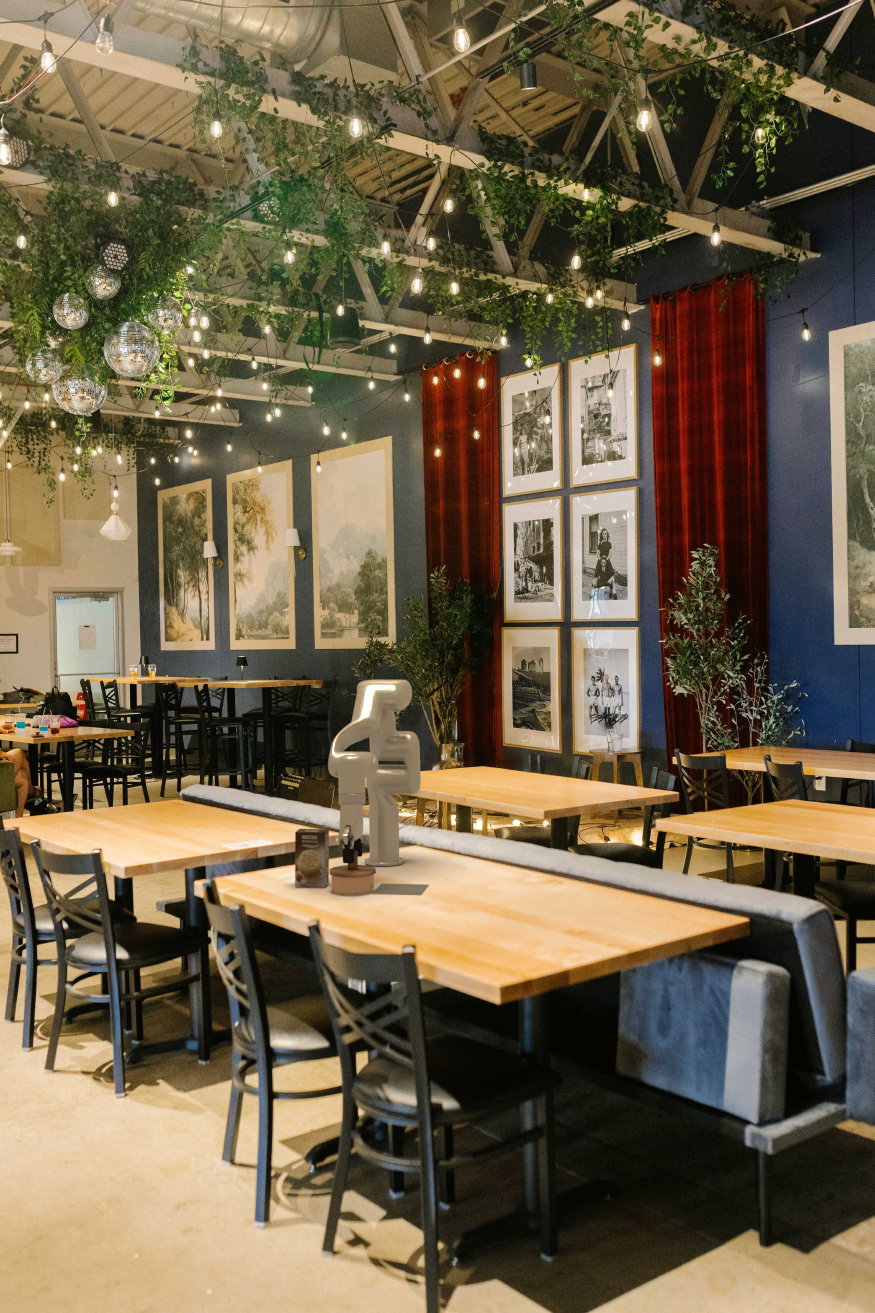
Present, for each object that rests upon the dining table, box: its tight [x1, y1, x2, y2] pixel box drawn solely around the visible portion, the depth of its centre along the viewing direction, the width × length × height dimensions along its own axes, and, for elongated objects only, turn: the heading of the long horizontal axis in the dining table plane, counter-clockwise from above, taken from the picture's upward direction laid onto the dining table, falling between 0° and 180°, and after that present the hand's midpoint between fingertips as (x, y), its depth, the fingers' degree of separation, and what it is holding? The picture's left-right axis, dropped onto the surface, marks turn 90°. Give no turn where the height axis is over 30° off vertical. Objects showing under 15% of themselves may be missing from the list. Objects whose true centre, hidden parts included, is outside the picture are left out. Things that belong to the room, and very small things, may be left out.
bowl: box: [331, 874, 375, 897], centre depth 298 cm, size 11×11×6 cm
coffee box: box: [294, 828, 330, 889], centre depth 309 cm, size 9×6×16 cm
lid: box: [329, 851, 377, 877], centre depth 299 cm, size 13×13×6 cm
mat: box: [371, 883, 430, 896], centre depth 300 cm, size 14×14×1 cm
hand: (352, 859), depth 299 cm, fingers open, 9 cm apart
